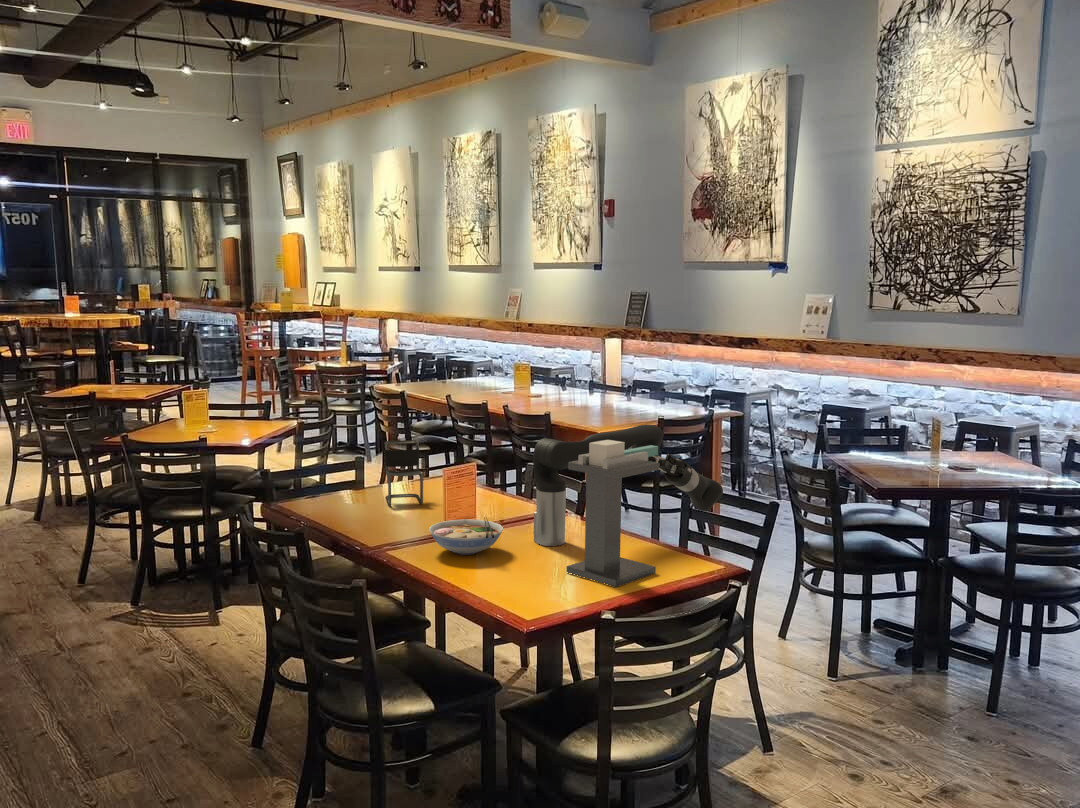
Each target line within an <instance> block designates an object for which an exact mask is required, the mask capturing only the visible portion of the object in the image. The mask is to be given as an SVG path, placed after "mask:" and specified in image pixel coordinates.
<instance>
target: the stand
mask: <svg viewBox="0 0 1080 808" xmlns="http://www.w3.org/2000/svg"><path fill="white" fill-rule="evenodd" d="M567 469H568V470H570V471H575V472H581V473H585V474H586V477H585V478H586V479H585V531H584V533H585V534H584V536H585V538H584V560H583V561H579V562H575V563H573V564H569V565H566V572H568V573H572V574H575V575H578V576H581V577H580V578H582V577H585V578H588V579H592V580H595V581H598V582H597V583H599V582H601V583H600V584H602V583H605V584H608V585H607V586H609V585H611V586H610V587H612V586H614V587H613V588H619V587H621V586H620V585H622V586H624V585H627V584H630V583H633V582H635V580H636V581H639V580H641V579H644V578H647V577H650V576H652V575H651V574H653V575H655V573H656V574H657V566H655V565H650V564H647V563H644V562H639V561H635V560H632V559H627V558H624V557H622V556H621V538H622V537H621V535H622V534H621V533H622V532H621V531H622V530H621V529H622V528H621V526H622V524H621V523H622V488H623V487H622V485H623V484H622V482H623V481H622V480H623V478H624V479H625V478H627V477H632V476H637V475H641V474H645V473H651V472H656V471H660V470H659V463H657V462H651V461H648V452H639V453H634V454H628V455H623V456H618V457H613V458H607V459H603V467H602V466H596V465H591V464H589V453H588V454H582V455H578V460H577V461H572V462H568V468H567ZM568 573H567V574H568ZM575 575H574V576H575ZM649 575H650V576H649ZM578 576H577V577H578ZM646 576H647V577H646ZM643 577H644V578H643ZM585 578H584V579H585ZM640 578H641V579H640ZM588 579H587V580H588ZM638 579H639V580H638ZM592 580H591V581H592ZM595 581H594V582H595ZM632 581H633V582H632ZM626 583H627V584H626ZM605 584H604V585H605ZM623 584H624V585H623ZM618 586H619V587H618Z"/></svg>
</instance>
